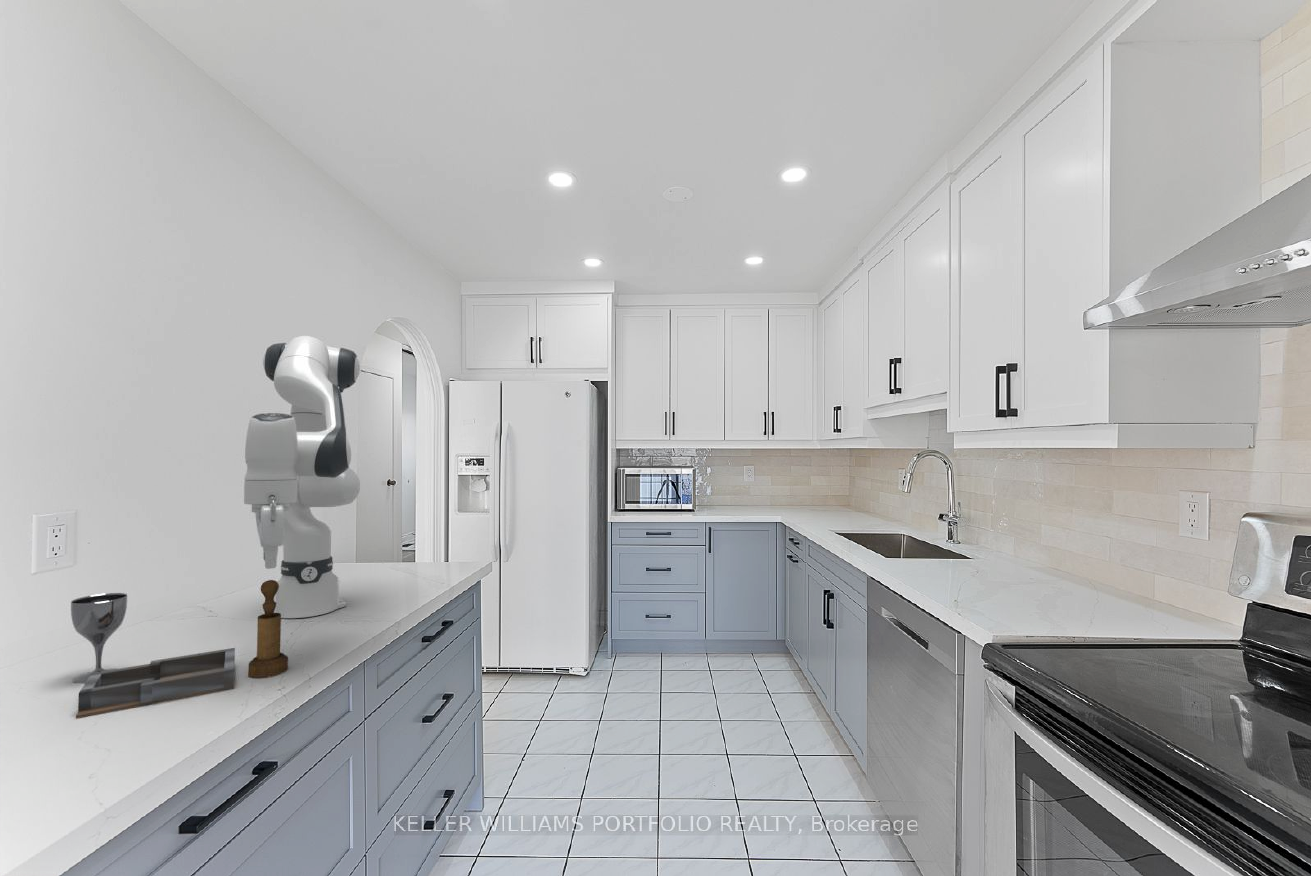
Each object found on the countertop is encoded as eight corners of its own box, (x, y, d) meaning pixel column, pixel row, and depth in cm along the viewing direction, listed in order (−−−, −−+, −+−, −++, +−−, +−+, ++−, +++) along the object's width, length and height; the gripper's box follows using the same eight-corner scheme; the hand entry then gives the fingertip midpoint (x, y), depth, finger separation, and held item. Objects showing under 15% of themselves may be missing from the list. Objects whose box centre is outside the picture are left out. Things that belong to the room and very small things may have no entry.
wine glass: (59, 686, 108) (61, 605, 108) (82, 671, 116) (84, 595, 116) (114, 680, 111) (116, 601, 111) (133, 665, 119) (134, 591, 119)
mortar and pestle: (268, 679, 112) (269, 585, 112) (239, 676, 113) (241, 583, 114) (295, 666, 119) (297, 577, 119) (268, 664, 120) (270, 576, 120)
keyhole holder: (93, 689, 107) (93, 670, 107) (234, 664, 119) (234, 647, 119) (75, 718, 96) (76, 697, 96) (233, 688, 108) (234, 669, 108)
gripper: (293, 496, 110) (291, 571, 109) (286, 491, 126) (285, 555, 126) (252, 498, 106) (250, 574, 106) (251, 492, 123) (249, 558, 122)
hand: (269, 564), depth 116 cm, fingers open, 8 cm apart
